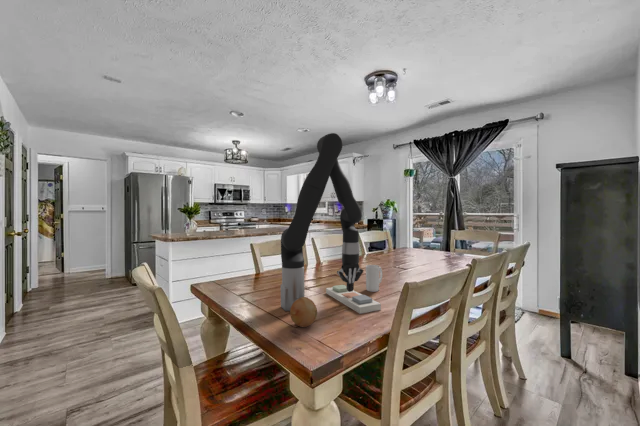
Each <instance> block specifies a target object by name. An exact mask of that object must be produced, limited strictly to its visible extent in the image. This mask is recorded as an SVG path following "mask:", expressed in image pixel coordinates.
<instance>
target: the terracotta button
mask: <svg viewBox="0 0 640 426" xmlns="http://www.w3.org/2000/svg"><path fill="white" fill-rule="evenodd" d="M342 295H343V296H345V297H347V298H352V296H359V295H358V294H356V293H354V292H352V293H345V294H342Z"/></svg>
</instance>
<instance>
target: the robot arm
mask: <svg viewBox="0 0 640 426" xmlns="http://www.w3.org/2000/svg"><path fill="white" fill-rule="evenodd" d="M343 145H344V143H343V139H342V137H341V136H340V134H338V133H335V132H331V133H328V134H324V136H322V137H320V138H319V139H318V140H317V143H316V149H317V152H318V157H317V159H316V161H315V164H314V165H313V167H312V168H311V170H310V171H309V173H308V174H307V175H306V177H305V179H304V181H303V183H302V185H301V189H300V191H299V194H298V196H297V202H296V207H295V213H294V216H293V218H292V220H291V222H290V225H289V226H288V227H287V228H286V229H284V230H283V232H282V233H281V235H280V257H281V258H280V259H281V284H280V307H281V309H282V310H283V311H284V312H290V308H291V306H292V304H293V303H294V302H295V301H296V300H297V299H299V298H301V297H305V259H304V248H303V246H305V244H306V240H307V236H308V232H309V229H310V225H311V223H312V220H313V218H314V216H315V214H316V212H317V209H318V207H319V205H320V202H321V200H322V197H323V195H324V192H325V189H326V186H327V184H328V181H329V179H331V183H332V186H333V189H334V192H335V196H336V198H337V201H338V203H339V204H340V205H342V206H343V208H342V209H341V211H340V214H339V219H340V226H341V230H342V244H341V267H340V270H337V271H336V274H337V275H338V276H339V278H340V279H341V281H342V282H345V284H346V286H347V290H348V291H349V292H351V291H353V290H354V287H355V285H354V283H355V282H358V281H359V279H360V278H361V276H362V274H363V273H364V269H362V268H360V265H359V263H360V241H359V240H360V239H359V238H360V236H359V230H358V229H357V228H356V227H355V224H359V222H361V220H362V217H363V214H362V213H363V212H362V210H361V207H360V205H359V203H358V202H357V200H356V198H355V196H354V193H353V191H352V187H351V184H350V181H349V179H348V177H347V175H346V174H345V172H344V171H343V170H342V167H341V165H340V163H339V159H338V158H339V156H340V154H341V152H342V150H343Z"/></svg>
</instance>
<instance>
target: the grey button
mask: <svg viewBox="0 0 640 426" xmlns="http://www.w3.org/2000/svg"><path fill="white" fill-rule="evenodd" d="M372 300H373V298H372V297H370V296H368V295H366V294H362V295H359V296H352V301H354V302H356V303H358V304H359V305H361V304H367V303H372Z"/></svg>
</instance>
